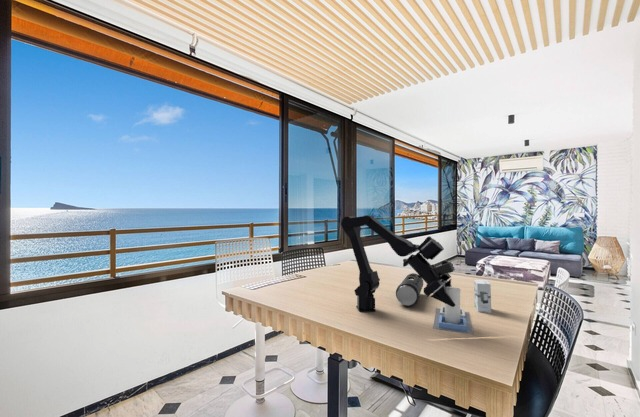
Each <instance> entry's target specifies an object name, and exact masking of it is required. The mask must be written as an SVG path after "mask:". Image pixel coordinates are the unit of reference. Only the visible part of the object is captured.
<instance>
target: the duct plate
mask: <svg viewBox="0 0 640 417" xmlns="http://www.w3.org/2000/svg"><path fill="white" fill-rule="evenodd" d="M472 325H473V324H472V320H471V316H470V312H469V311H465V308H460V325H458V324H451V323H445V306H440V308H437V307H436V308H435V314H434V319H433V325H432V329H434V330H439V331H440V330H441V331H446V332H452V333H461V334H467V335H468V334H469V335H474V330H473V326H472Z"/></svg>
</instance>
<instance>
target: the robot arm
mask: <svg viewBox="0 0 640 417" xmlns="http://www.w3.org/2000/svg"><path fill="white" fill-rule="evenodd" d="M340 225H341V229H342V230H343V232H344V233H345V235H346V236H347V237H348V239H349V241H350V245H351V248H352V252H353V255H354V257H355V261H356V264H357V267H358V271H359V274H358V282H359V285H358V286H357V287H356V288H355V289H354V294H355V296H357V298H356V303H357V305H356V309H357V310H358V312H375V311H376V298H375V295H374V294H375V292H376V290H377V289H379V286H380V281H381V278H380V277H379V274H378V271H377V270H375V271H374V270H373V269H372V267H371V265H370V262H369V258H368V255H367V252H366V250H365V247H364V243H363V241H362V237H361V230H362V229H361V228H362V227H363V226H367V227H368V228H369V229H371V230H372V231H373V232H374V233H376V234H377V235H378V236H379V237H381V239H383V241H386V242H387V243H388V244H389V246H390V248H391V249H392V250H393V251H394V252H395V254H396V255H398V256H399V257H403V258H404V257H407V256H408V258H404V259H403V260H402V261H403V263H402V266H403V267H405V268H406V267H407V266H410V267H411V269H413V271H415V273H416V274H418V275H419V276H418V277H419V278H422V279H423V282H425V283H426V286H425V287H424V288H423V294H424V295H425V296H426V297H427V298H428V297H430V298H433V299H435V300H437V301H439V302H442V303H444V304H445V303H446V304H448V305H450V306H452V307H454V306H455V303H454V302H453V300H452V299H451V298H450V296H449V295H448V294H447V292H446V291H445V287H453V286H452V276H451V273H453V272H454V271H455V270H456V269H455V268H454V264H453V263H452V261H448V260H443V261H441V265H438V266H436V265H435V264H430V262H429V261H428V260H432V261H433V260H434V259H435V258H436V257H437V256H438V255H439V254H440V253H441V252H443V251H444V247H443V245H442V244H441V243H440V242H439V241H437V240H436V239H434V238H432V236H427V237H426V238H425V239H424V240H423V241H422V242H421V243H420V244H414V243H413V242H412V241H411V240H408V239H406V238H404V237H402V236H400V235H397V234H396V233H395V232H393V231H392V230H390V229H389V228H388V227H386V226H385V225H384V224H382V223H381V222H380V221H379V220H378V219H377V218H375V217H374V216H373V215H370V214H368V215H367V214H366V215H362V216H344V217H343V218H342V219H341V222H340ZM416 252H417V253H416ZM414 253H416V254H414Z"/></svg>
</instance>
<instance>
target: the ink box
mask: <svg viewBox="0 0 640 417" xmlns="http://www.w3.org/2000/svg"><path fill="white" fill-rule="evenodd" d="M473 281H474V283H473V286H474V287H473V288H474V291H473V292H474V294H473V295H474V296H473V297H474V308H475V310H476V312H477V313H486V314H492V288H491V287H492V285H491V283H490V282H489V280H487V279H474V280H473Z"/></svg>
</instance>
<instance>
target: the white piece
mask: <svg viewBox="0 0 640 417" xmlns="http://www.w3.org/2000/svg"><path fill="white" fill-rule="evenodd" d="M445 291H446V292H447V294H448V295H449V296H450V298H451V299H452V300H453V302H454V303H455V306H454V307H452V306H450V305H448V304H446V303H444V307H445V323H451V324H458V325H460V309H461V288H459V287H456V286H452V287H445Z"/></svg>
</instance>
